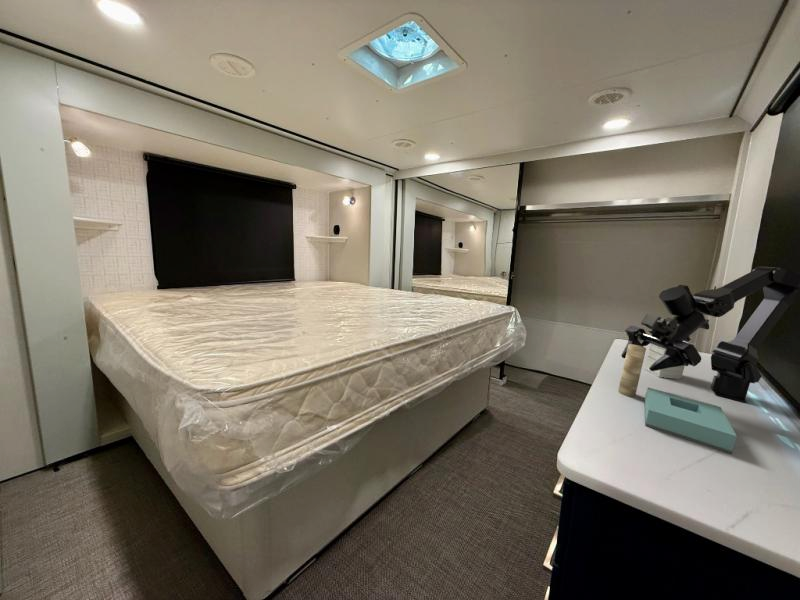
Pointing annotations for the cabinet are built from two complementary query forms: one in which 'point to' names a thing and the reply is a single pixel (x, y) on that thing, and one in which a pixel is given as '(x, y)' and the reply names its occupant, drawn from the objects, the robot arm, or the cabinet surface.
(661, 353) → the supplement box
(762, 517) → the cabinet surface
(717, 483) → the cabinet surface
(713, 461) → the cabinet surface
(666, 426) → the pin block
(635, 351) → the maple pin
